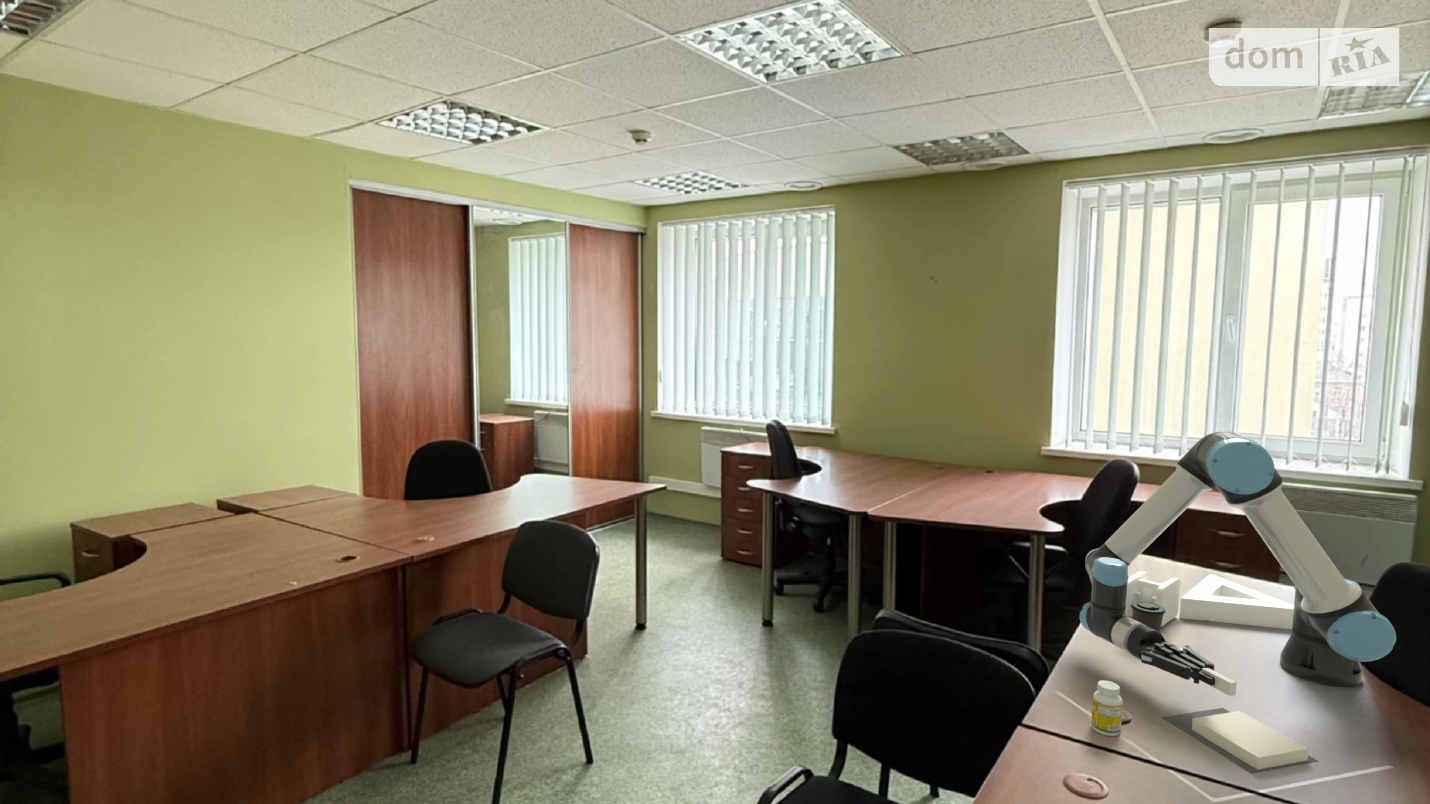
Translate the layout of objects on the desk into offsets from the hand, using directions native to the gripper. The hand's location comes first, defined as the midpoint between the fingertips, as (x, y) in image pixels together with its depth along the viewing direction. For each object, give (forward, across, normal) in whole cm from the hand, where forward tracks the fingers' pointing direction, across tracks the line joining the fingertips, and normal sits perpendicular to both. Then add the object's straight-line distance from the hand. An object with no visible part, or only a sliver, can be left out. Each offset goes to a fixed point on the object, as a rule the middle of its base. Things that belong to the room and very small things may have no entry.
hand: (1233, 689), depth 148 cm
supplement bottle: (-8, +22, -10) cm, 26 cm away
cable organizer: (-54, -33, -10) cm, 64 cm away
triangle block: (-55, -61, -11) cm, 83 cm away
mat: (+1, 0, -10) cm, 10 cm away
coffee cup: (-41, -20, -10) cm, 47 cm away
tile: (-3, 0, -8) cm, 9 cm away
